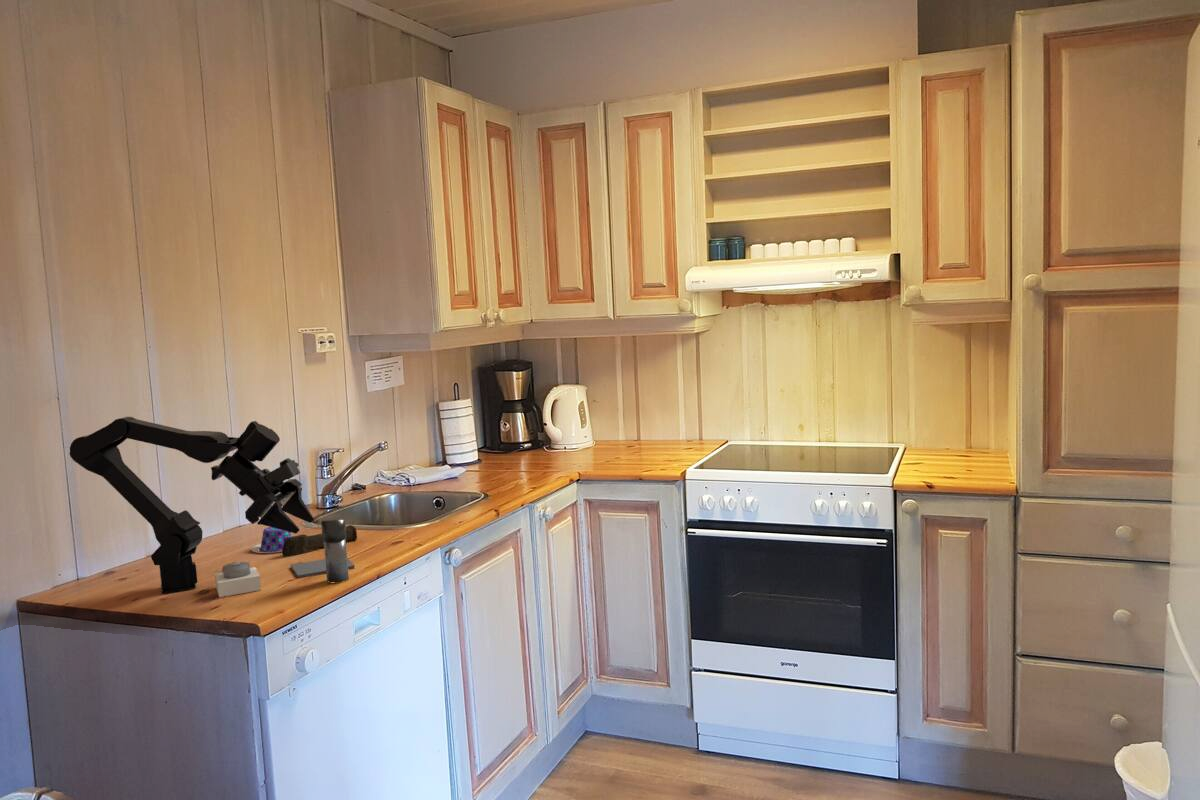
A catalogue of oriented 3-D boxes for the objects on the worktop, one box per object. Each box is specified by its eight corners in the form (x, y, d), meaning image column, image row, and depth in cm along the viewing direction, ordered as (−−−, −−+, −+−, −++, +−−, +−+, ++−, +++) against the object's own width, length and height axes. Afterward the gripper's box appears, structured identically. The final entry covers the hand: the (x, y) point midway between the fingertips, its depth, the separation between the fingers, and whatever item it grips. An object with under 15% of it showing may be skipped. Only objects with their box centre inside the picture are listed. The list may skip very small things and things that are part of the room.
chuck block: (219, 597, 181) (216, 570, 181) (216, 587, 188) (213, 561, 188) (261, 589, 185) (258, 563, 184) (256, 580, 192) (254, 555, 191)
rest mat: (298, 578, 192) (297, 575, 192) (290, 567, 201) (290, 564, 201) (354, 568, 197) (354, 565, 197) (345, 558, 206) (345, 555, 206)
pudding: (280, 556, 212) (278, 535, 211) (240, 554, 216) (238, 533, 215) (313, 543, 223) (311, 522, 222) (274, 541, 227) (272, 521, 227)
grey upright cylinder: (328, 585, 186) (323, 523, 184) (324, 579, 190) (319, 519, 189) (352, 580, 188) (347, 520, 187) (347, 575, 192) (342, 516, 191)
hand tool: (350, 539, 225) (348, 521, 225) (358, 541, 222) (357, 523, 222) (278, 556, 212) (276, 537, 211) (285, 559, 209) (283, 540, 209)
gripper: (255, 456, 177) (315, 508, 178) (288, 442, 195) (343, 489, 196) (219, 497, 178) (280, 548, 179) (256, 479, 196) (310, 526, 197)
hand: (305, 526), depth 188 cm, fingers open, 9 cm apart
